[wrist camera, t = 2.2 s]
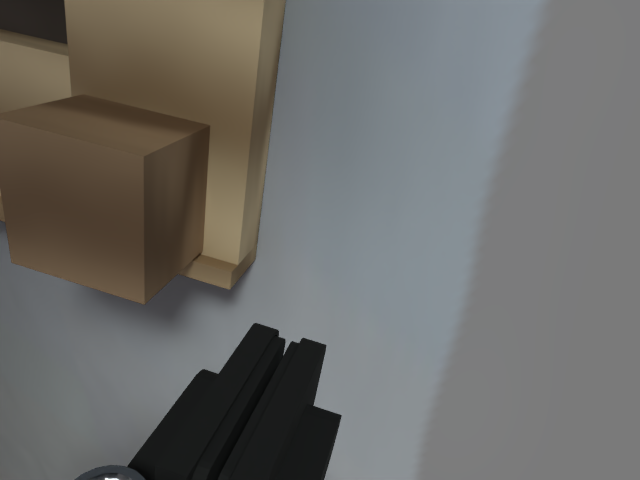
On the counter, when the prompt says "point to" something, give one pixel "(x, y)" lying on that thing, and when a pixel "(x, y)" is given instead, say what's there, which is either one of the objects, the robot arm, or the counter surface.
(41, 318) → the counter surface
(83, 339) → the counter surface
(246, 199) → the tray
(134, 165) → the block
